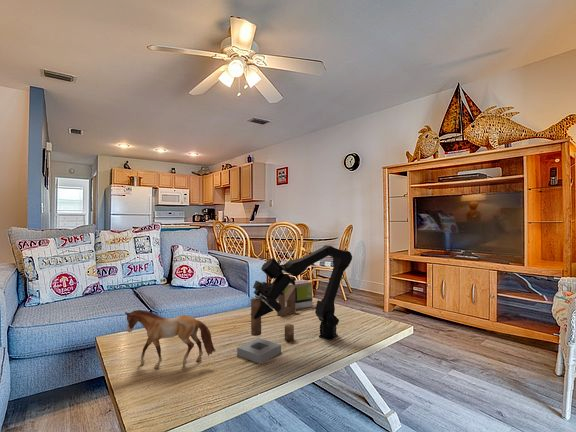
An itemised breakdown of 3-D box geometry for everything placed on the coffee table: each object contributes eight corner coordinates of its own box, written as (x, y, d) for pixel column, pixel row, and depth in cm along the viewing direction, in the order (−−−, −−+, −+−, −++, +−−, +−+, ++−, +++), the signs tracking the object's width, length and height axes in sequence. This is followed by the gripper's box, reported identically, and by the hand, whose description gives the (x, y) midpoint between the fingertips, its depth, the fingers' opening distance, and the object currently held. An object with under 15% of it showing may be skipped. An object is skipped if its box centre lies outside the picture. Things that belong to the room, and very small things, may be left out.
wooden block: (295, 312, 170) (295, 280, 171) (281, 316, 163) (281, 283, 163) (290, 310, 173) (290, 279, 173) (276, 315, 165) (276, 282, 166)
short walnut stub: (295, 339, 132) (295, 325, 132) (290, 342, 129) (290, 328, 129) (288, 337, 134) (288, 323, 135) (282, 340, 131) (282, 326, 131)
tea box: (304, 302, 189) (304, 279, 190) (312, 307, 180) (312, 282, 180) (282, 306, 183) (282, 281, 183) (289, 310, 174) (289, 284, 174)
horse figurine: (122, 372, 104) (122, 312, 104) (132, 362, 112) (132, 306, 112) (215, 367, 107) (215, 309, 107) (218, 357, 115) (218, 303, 115)
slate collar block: (281, 352, 119) (281, 344, 119) (260, 364, 110) (260, 355, 110) (258, 344, 126) (258, 337, 126) (237, 355, 117) (237, 347, 117)
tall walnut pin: (262, 332, 123) (262, 297, 123) (259, 336, 119) (259, 300, 119) (252, 331, 124) (252, 297, 124) (249, 335, 120) (249, 300, 120)
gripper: (257, 270, 132) (232, 298, 127) (273, 277, 115) (245, 310, 110) (275, 286, 135) (251, 314, 130) (292, 296, 118) (265, 329, 113)
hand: (252, 316), depth 121 cm, fingers closed on tall walnut pin, 4 cm apart
